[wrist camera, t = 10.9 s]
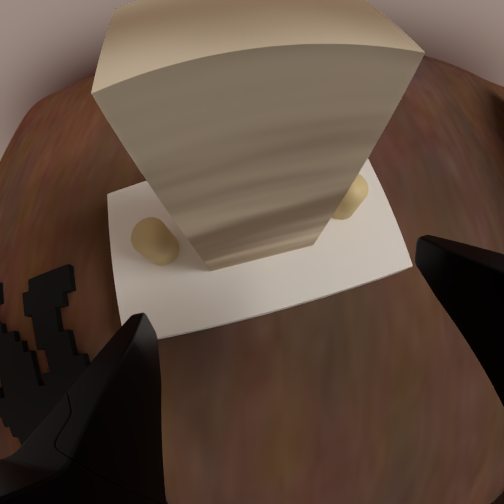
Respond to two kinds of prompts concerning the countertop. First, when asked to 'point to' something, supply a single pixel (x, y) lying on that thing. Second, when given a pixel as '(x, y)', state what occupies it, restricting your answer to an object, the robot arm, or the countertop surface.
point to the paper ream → (251, 111)
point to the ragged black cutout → (25, 362)
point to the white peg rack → (246, 274)
